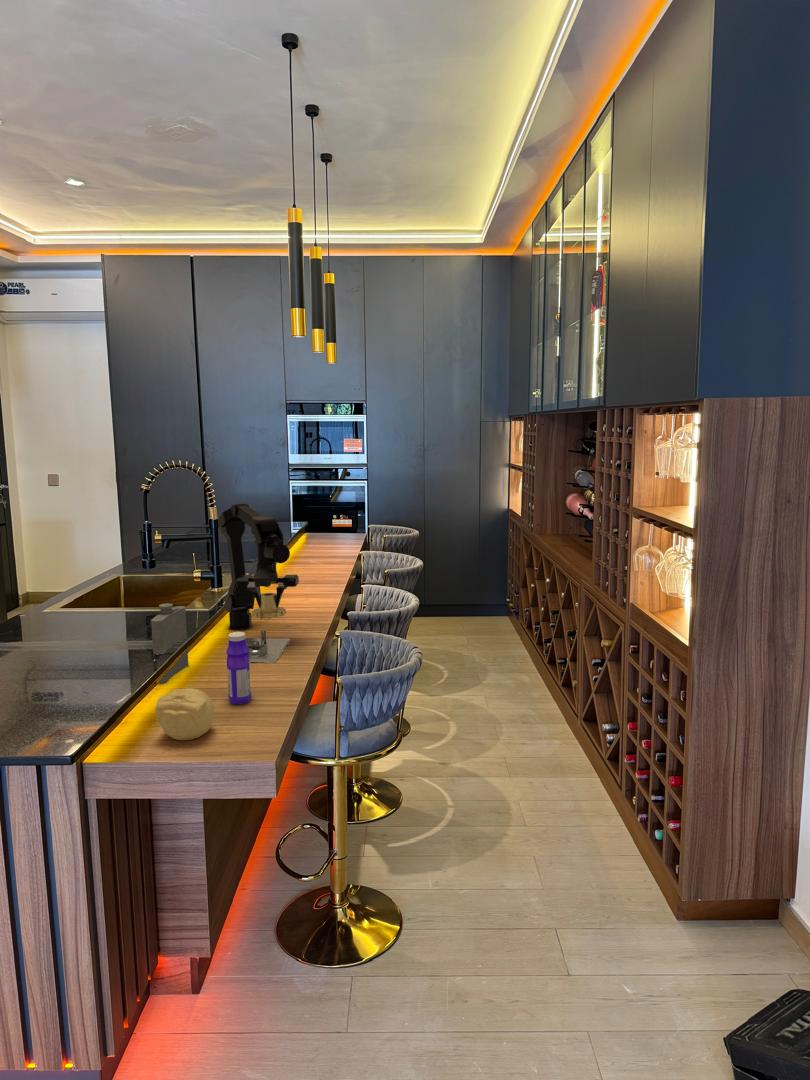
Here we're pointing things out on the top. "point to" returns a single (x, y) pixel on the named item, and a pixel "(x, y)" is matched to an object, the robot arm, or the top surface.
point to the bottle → (238, 669)
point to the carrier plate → (271, 648)
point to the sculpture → (185, 713)
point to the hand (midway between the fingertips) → (268, 607)
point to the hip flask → (170, 635)
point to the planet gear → (268, 607)
